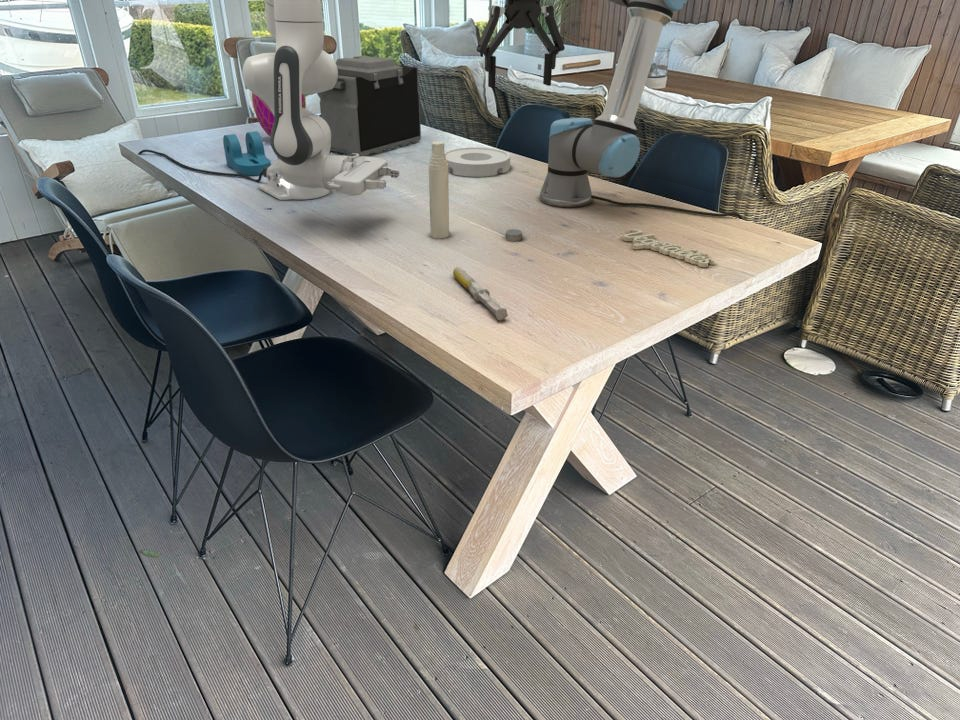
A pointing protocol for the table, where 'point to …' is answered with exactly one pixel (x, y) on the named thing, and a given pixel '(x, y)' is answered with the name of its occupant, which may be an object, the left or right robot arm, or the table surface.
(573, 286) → the table surface
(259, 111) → the decorative egg
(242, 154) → the camera mount
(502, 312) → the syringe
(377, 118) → the cooler box
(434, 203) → the bottle
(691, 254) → the decorative sign
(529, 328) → the table surface
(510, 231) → the cap
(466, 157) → the ashtray
